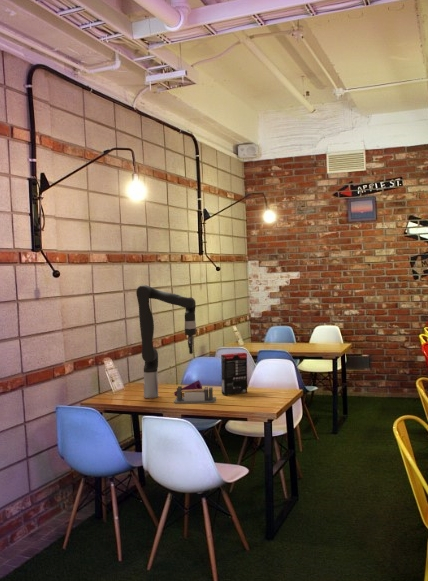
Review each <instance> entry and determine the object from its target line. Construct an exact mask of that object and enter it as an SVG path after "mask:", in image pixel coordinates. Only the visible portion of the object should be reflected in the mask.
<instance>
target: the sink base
mask: <svg viewBox="0 0 428 581" xmlns="http://www.w3.org/2000/svg"><path fill="white" fill-rule="evenodd" d="M206 387H207V386H204V388H203V389H204V391H194V392H181V390H182V388H183V387H182V385H181V386H177V387H176V391H177V395H176V398H175V399H174V400H173V404H174V403H179V404H180V403H183V404H215V402H216V399H217V397H216V396H214V394H213V392H214V390H213V387H209V386H208V391H207V388H206ZM183 394H184V395H183ZM183 396H184V397H183Z"/></svg>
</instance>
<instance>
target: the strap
mask: <svg viewBox="0 0 428 581" xmlns="http://www.w3.org/2000/svg"><path fill="white" fill-rule="evenodd" d="M205 387H206V388H207V391H208V392H209V386H205ZM194 391H204V388H202V389H191V390H181V392H182V393H185V392H194Z"/></svg>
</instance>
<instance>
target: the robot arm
mask: <svg viewBox="0 0 428 581" xmlns="http://www.w3.org/2000/svg"><path fill="white" fill-rule="evenodd" d="M136 299H137V305H138V316H139V328H140V338H141V358H142V360H143V361H144V366H143V398H144V397H145V398H146V399H155V398H159V381H158V380H159V379H158V377H159V376H158V375H159V374H158V368H159V354H158V350H157V349H156V348H155V347H154V343H153V338H154V333H155V332H154V331H155V324H154V322H155V321H154V316H153V312H152V310H151V306H150V300H151V299H153V300H158V301H160V302H162V303H167V304H169V305H174V306H179V307H181V308H185V313H184V335H185V336H188V337H187V339H186V340H187V347H188V350H189V351H188V354H189V355H193V353H194V340H195V337H194V336H195V335H197V323H196V300H195V298H193V297H187V296H182V295H179V294H177V293H172V292H169V291H168V292H167V291H163V290H159V289H156V288H153V287H151V286H149V285H146V284H144V285H143V284H142V285H140V286H138V287H137V288H136ZM145 398H144V399H145Z"/></svg>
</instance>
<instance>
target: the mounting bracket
mask: <svg viewBox="0 0 428 581" xmlns="http://www.w3.org/2000/svg"><path fill="white" fill-rule="evenodd" d="M191 389H203V386H202V384H201V382H200V380H199V379H198V380H197V381H194V382H192V383H190V384H188V385H186V386H184V387H182V390H191ZM173 393H174V395H175V396H177V390H175V391H173Z"/></svg>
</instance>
